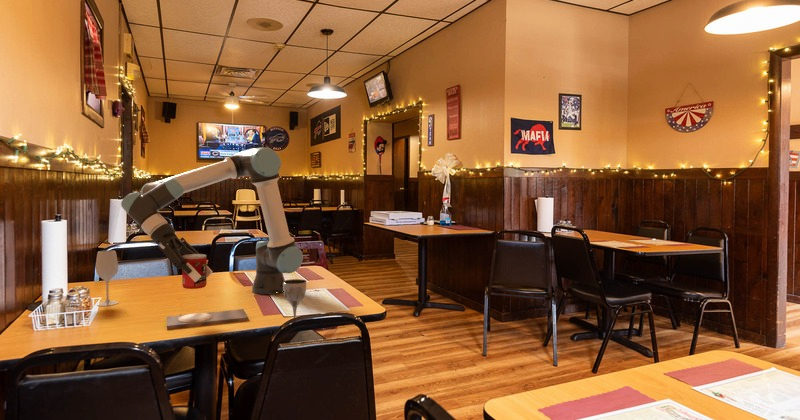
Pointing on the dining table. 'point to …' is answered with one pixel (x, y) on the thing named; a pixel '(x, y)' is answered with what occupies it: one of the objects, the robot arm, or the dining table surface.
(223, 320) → the serving board
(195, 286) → the canned food
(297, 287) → the wine glass
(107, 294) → the wineglass
